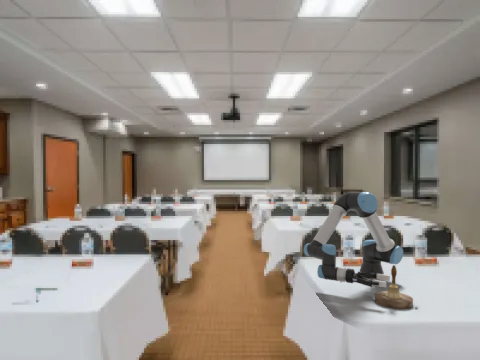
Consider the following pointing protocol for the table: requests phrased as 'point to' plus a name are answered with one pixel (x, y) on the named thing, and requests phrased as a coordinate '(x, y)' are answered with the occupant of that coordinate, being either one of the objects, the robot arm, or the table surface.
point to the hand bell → (393, 286)
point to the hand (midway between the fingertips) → (388, 281)
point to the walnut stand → (394, 300)
